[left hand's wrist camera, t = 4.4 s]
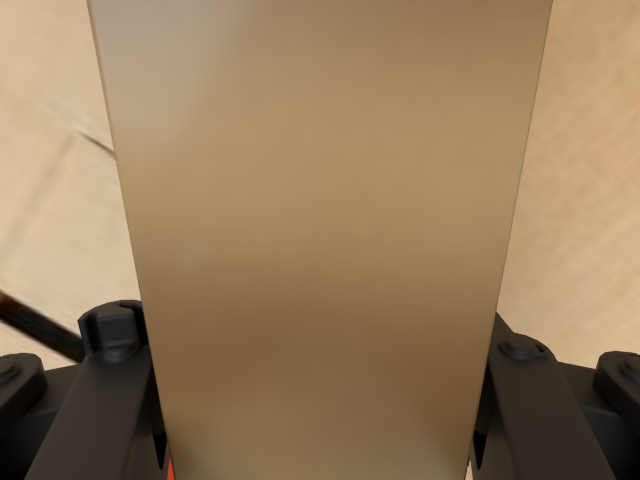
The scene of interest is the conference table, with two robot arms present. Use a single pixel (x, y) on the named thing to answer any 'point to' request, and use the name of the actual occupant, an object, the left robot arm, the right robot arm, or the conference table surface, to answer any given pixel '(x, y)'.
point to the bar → (319, 221)
